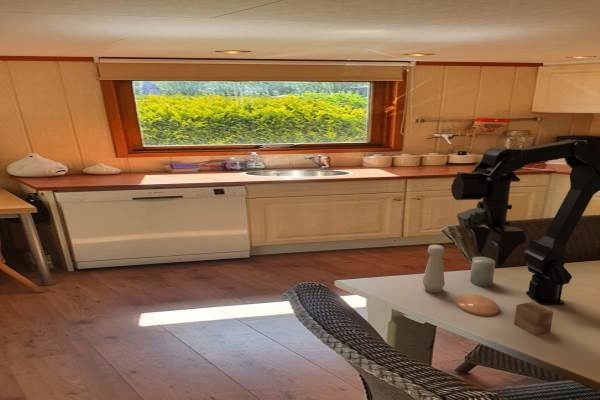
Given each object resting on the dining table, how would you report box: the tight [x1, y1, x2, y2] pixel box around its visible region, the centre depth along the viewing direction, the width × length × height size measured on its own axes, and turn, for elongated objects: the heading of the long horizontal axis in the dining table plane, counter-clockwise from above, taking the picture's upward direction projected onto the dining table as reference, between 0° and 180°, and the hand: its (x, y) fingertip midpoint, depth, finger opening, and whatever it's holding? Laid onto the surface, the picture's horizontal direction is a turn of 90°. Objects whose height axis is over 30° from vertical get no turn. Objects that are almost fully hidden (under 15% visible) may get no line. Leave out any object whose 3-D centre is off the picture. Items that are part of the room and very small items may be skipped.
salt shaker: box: [422, 244, 446, 294], centre depth 100 cm, size 6×6×13 cm
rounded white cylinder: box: [469, 256, 496, 288], centre depth 105 cm, size 6×6×7 cm
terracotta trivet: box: [454, 293, 500, 317], centre depth 92 cm, size 10×10×1 cm
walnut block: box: [513, 300, 554, 336], centre depth 82 cm, size 5×5×5 cm
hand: (488, 258), depth 92 cm, fingers open, 9 cm apart
